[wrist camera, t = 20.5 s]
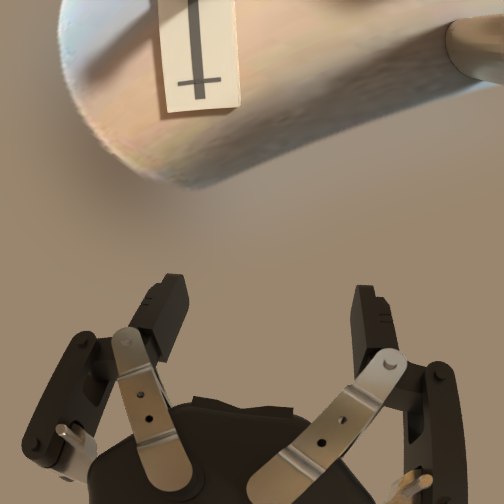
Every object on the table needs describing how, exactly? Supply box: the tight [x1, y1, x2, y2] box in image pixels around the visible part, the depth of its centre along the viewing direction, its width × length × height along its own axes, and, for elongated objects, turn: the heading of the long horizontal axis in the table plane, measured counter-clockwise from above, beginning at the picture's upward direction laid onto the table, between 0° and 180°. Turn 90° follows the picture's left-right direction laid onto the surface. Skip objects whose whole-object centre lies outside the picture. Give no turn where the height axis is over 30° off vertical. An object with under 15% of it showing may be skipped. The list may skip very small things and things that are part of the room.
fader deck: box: [158, 0, 241, 113], centre depth 33 cm, size 10×22×2 cm, turn 2°
